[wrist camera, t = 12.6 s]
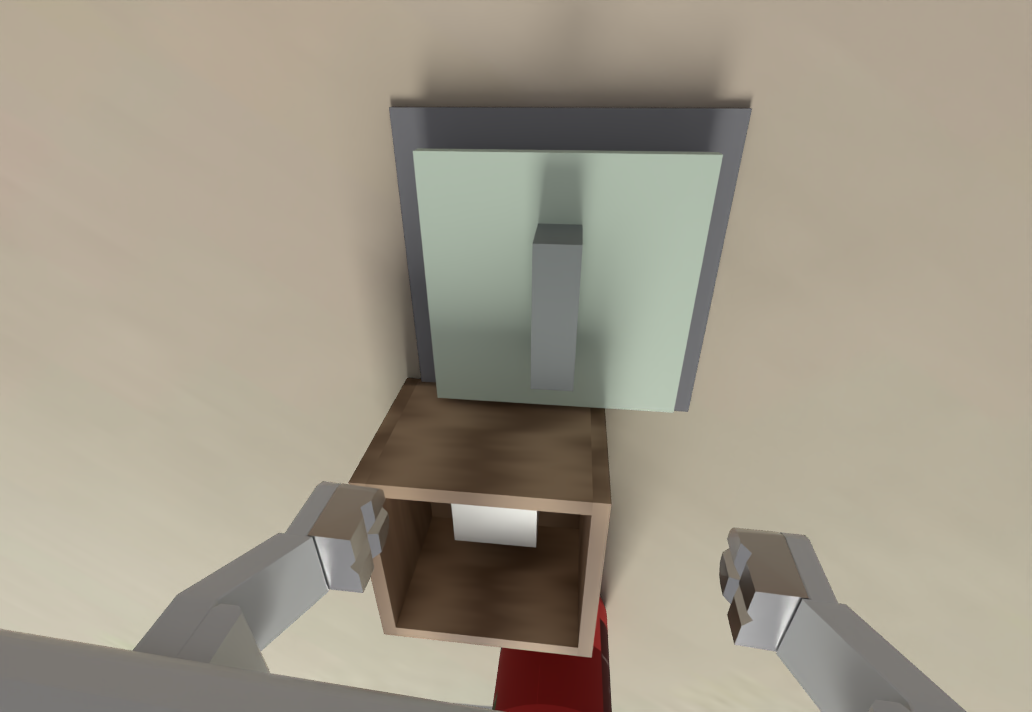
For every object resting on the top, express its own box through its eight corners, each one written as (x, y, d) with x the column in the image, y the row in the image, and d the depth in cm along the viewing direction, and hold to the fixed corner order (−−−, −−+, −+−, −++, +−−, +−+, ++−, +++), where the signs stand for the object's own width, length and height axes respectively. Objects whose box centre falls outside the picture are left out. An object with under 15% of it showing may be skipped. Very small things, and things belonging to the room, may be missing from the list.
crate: (603, 389, 29) (611, 504, 22) (589, 529, 35) (591, 657, 28) (407, 378, 31) (348, 482, 23) (425, 514, 37) (384, 634, 29)
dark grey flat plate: (749, 108, 21) (751, 108, 21) (687, 408, 29) (688, 411, 29) (391, 107, 23) (389, 107, 23) (424, 392, 31) (423, 395, 31)
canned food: (490, 586, 40) (462, 745, 31) (580, 561, 37) (579, 728, 28) (536, 638, 43) (523, 799, 34) (622, 620, 40) (634, 788, 31)
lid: (711, 147, 22) (743, 167, 18) (667, 389, 29) (683, 449, 24) (426, 144, 23) (389, 162, 19) (446, 376, 30) (423, 431, 25)
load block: (542, 440, 31) (537, 486, 27) (540, 498, 33) (536, 547, 30) (463, 434, 31) (448, 479, 28) (467, 492, 34) (454, 539, 30)
